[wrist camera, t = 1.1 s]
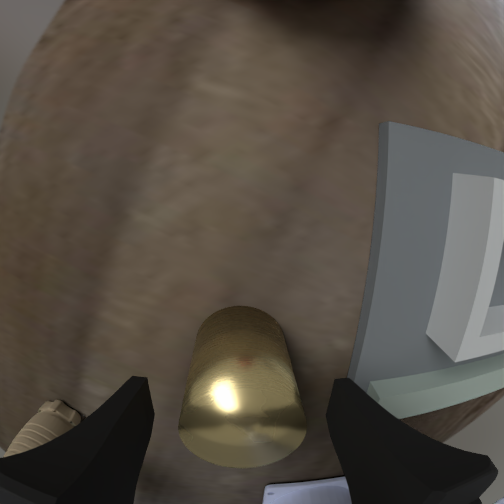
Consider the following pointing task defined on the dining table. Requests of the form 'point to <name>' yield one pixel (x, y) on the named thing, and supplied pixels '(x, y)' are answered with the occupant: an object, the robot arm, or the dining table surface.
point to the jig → (433, 274)
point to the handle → (44, 427)
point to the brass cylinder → (241, 392)
